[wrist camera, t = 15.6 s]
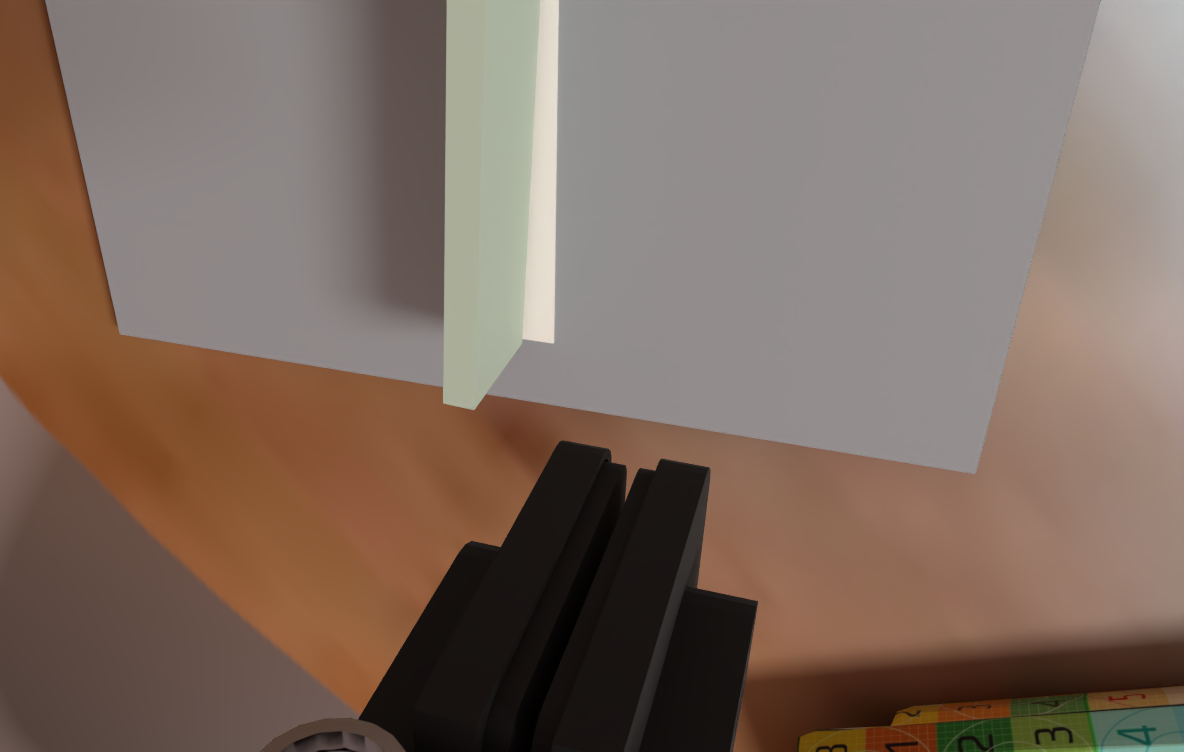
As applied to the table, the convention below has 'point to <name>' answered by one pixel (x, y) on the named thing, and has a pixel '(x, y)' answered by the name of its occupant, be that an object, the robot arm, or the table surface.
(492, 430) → the table surface
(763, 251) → the board
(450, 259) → the gate panel
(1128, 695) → the puzzle game
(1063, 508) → the table surface
